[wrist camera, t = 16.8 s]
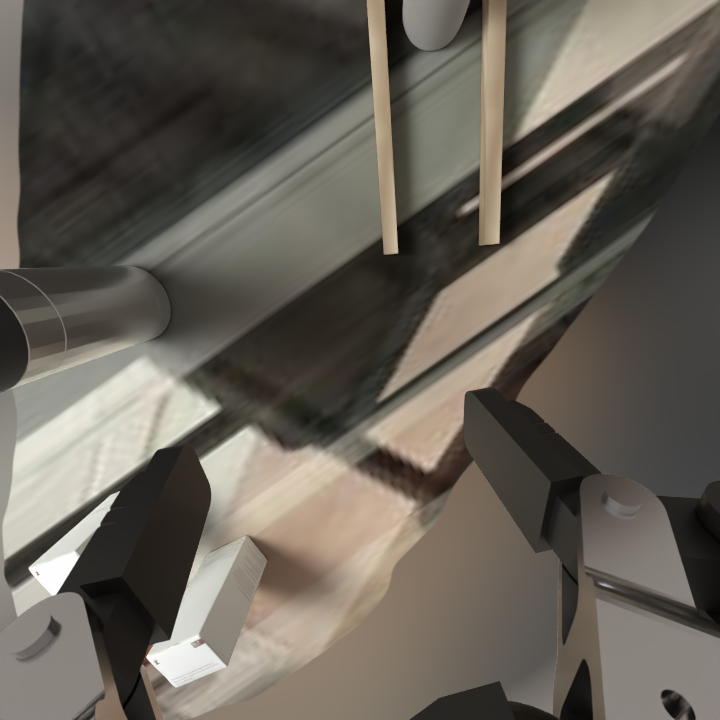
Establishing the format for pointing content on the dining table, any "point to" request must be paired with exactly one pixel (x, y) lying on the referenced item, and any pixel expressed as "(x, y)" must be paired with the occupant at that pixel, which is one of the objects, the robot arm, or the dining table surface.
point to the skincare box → (211, 613)
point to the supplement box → (68, 549)
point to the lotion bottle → (433, 21)
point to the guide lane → (490, 120)
